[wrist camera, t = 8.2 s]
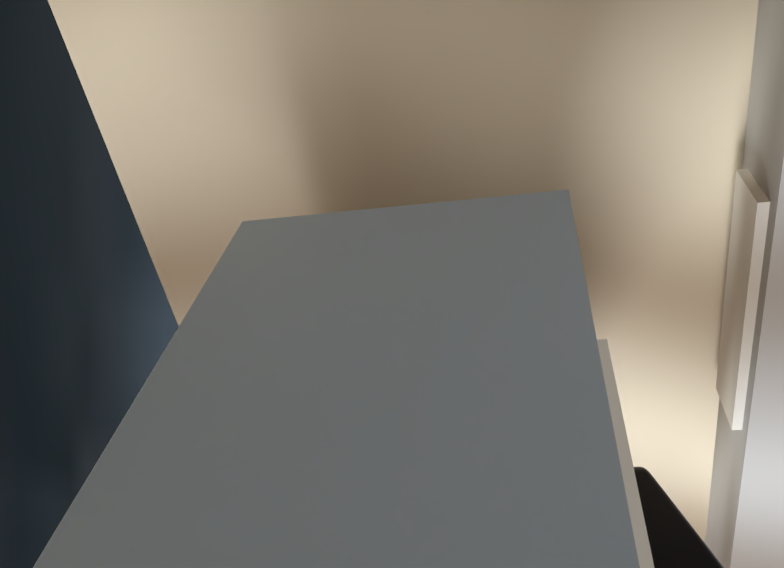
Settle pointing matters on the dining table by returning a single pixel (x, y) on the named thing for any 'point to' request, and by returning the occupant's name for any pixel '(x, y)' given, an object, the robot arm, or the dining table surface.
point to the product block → (375, 406)
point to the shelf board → (498, 177)
